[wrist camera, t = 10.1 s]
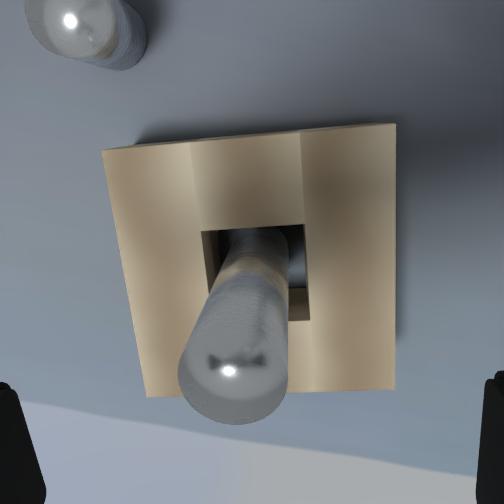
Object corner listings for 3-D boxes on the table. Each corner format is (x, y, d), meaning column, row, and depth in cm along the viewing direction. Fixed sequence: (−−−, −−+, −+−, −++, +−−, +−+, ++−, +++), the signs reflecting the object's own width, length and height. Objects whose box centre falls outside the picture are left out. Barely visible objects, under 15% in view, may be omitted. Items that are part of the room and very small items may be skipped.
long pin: (286, 220, 23) (283, 325, 11) (290, 275, 24) (291, 423, 12) (229, 224, 23) (170, 329, 12) (235, 278, 24) (185, 425, 12)
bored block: (376, 122, 21) (395, 123, 17) (378, 346, 24) (395, 389, 21) (133, 144, 22) (101, 150, 18) (167, 355, 26) (146, 397, 22)
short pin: (141, -4, 20) (96, -41, 15) (151, 67, 21) (111, 52, 16) (79, 4, 20) (16, -30, 16) (91, 73, 21) (35, 60, 17)
